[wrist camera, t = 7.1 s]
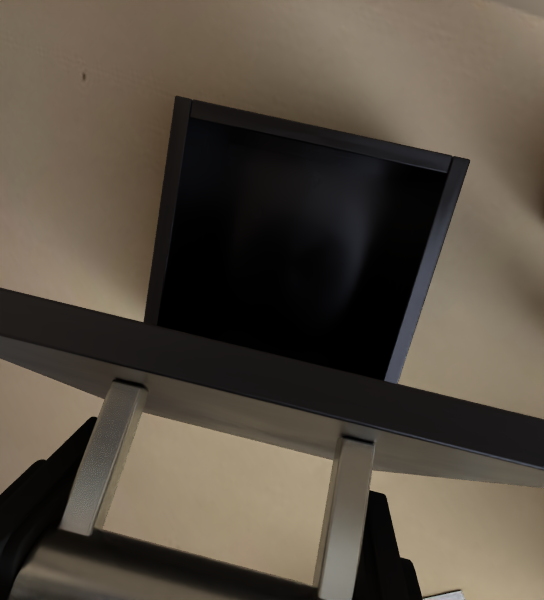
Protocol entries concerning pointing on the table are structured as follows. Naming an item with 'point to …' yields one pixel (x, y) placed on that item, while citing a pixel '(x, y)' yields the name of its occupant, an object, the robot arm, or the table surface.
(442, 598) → the stacked layers on plate
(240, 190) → the black open box
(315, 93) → the table surface
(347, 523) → the box lid
